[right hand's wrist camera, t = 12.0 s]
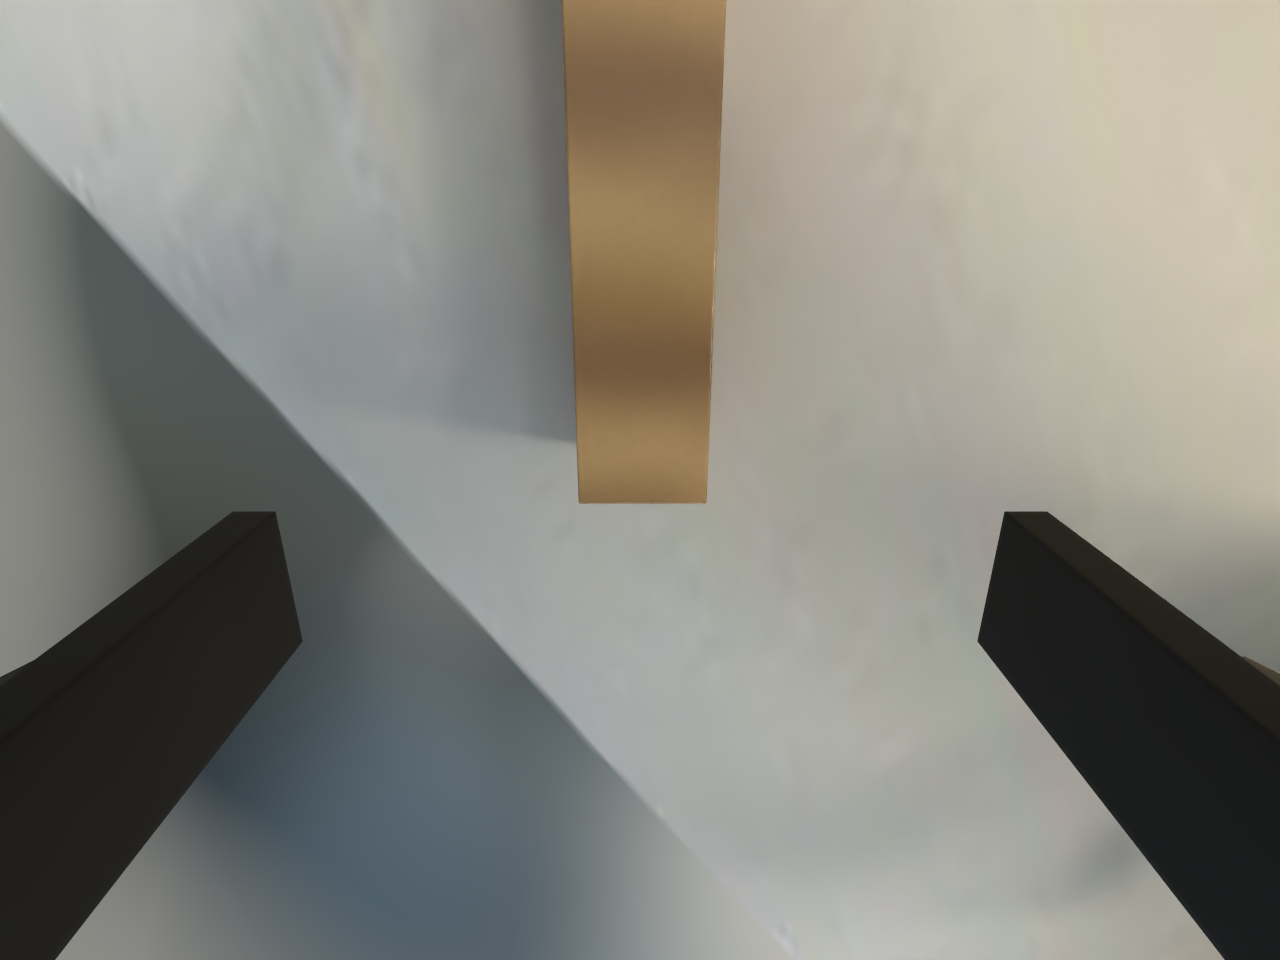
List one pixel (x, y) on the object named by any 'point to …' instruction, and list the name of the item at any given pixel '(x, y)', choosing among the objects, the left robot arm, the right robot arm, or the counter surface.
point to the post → (643, 241)
